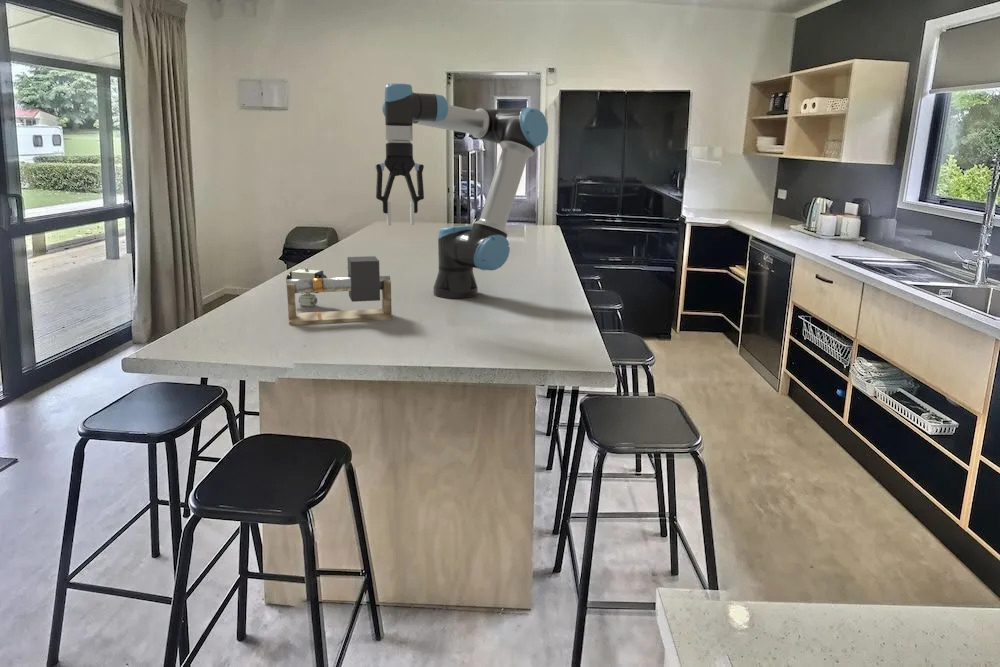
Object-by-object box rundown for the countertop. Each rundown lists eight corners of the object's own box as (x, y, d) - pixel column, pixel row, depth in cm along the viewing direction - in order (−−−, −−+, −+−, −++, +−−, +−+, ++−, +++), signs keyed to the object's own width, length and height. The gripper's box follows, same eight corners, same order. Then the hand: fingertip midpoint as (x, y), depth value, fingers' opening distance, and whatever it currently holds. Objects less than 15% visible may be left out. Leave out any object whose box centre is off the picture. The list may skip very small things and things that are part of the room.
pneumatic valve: (322, 308, 219) (320, 269, 216) (287, 306, 222) (285, 267, 219) (330, 304, 225) (328, 266, 222) (295, 302, 227) (293, 264, 224)
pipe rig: (387, 311, 217) (386, 276, 214) (393, 319, 208) (392, 282, 205) (288, 316, 208) (286, 279, 206) (289, 325, 199) (287, 286, 196)
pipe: (388, 287, 212) (388, 274, 211) (390, 290, 208) (390, 277, 207) (287, 291, 204) (286, 278, 202) (287, 294, 200) (286, 280, 199)
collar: (376, 294, 214) (375, 256, 211) (380, 300, 206) (379, 260, 203) (348, 295, 211) (347, 256, 208) (352, 301, 204) (350, 261, 200)
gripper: (429, 142, 207) (430, 222, 213) (363, 141, 201) (365, 223, 207) (435, 142, 200) (435, 225, 206) (366, 141, 194) (369, 226, 200)
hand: (400, 224), depth 206 cm, fingers open, 6 cm apart
